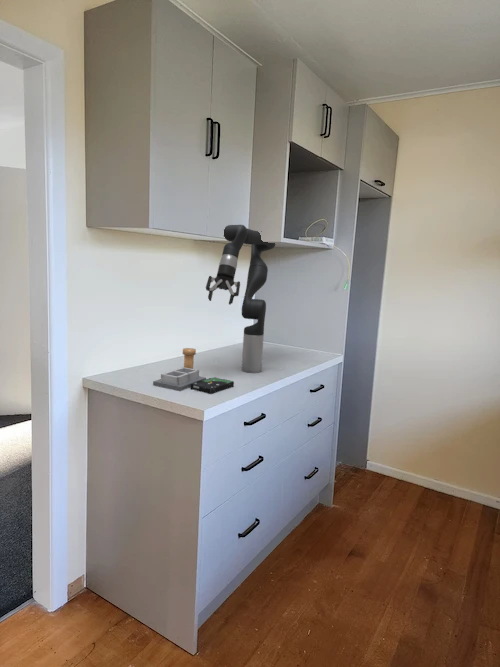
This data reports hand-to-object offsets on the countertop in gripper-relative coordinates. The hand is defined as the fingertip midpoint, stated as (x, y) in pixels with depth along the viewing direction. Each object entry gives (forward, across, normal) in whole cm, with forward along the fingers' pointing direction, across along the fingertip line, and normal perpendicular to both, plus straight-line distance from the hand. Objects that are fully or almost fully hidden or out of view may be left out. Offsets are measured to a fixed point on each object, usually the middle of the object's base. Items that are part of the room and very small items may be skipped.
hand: (219, 302), depth 188 cm
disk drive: (+37, -5, +5) cm, 38 cm away
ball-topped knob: (+31, +8, -12) cm, 34 cm away
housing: (+37, +8, +2) cm, 38 cm away
